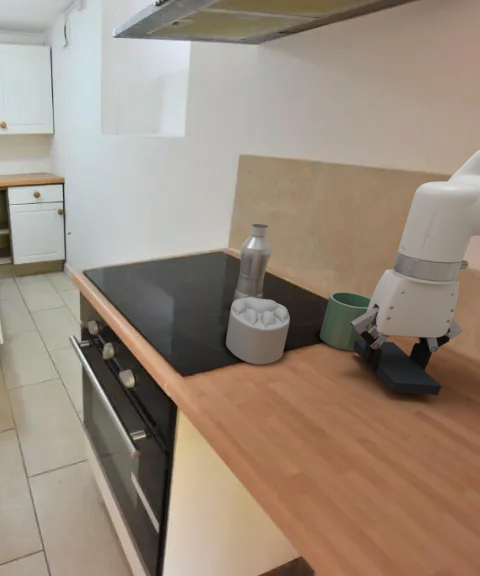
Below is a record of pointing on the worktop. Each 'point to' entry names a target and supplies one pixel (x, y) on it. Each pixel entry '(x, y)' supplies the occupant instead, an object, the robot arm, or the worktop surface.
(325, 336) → the cup
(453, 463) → the worktop surface
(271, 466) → the worktop surface
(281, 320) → the lumpy-topped squat cylinder
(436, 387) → the dark blue flat block
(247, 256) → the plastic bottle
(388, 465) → the worktop surface
